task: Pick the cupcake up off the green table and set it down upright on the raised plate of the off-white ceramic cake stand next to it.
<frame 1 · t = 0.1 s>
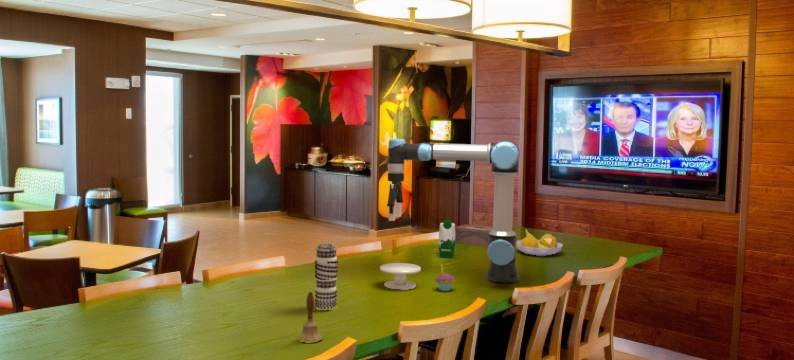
hand: (395, 218, 305), 28 cm above the table, fingers open, 13 cm apart
decorative candle: (325, 308, 257), on the table
fruit bowl: (537, 253, 373), on the table
cake stand: (400, 286, 293), on the table
hand bell: (310, 340, 220), on the table
cupcake: (444, 290, 289), on the table
tissue box cover: (479, 244, 400), on the table
milk carton: (446, 257, 359), on the table
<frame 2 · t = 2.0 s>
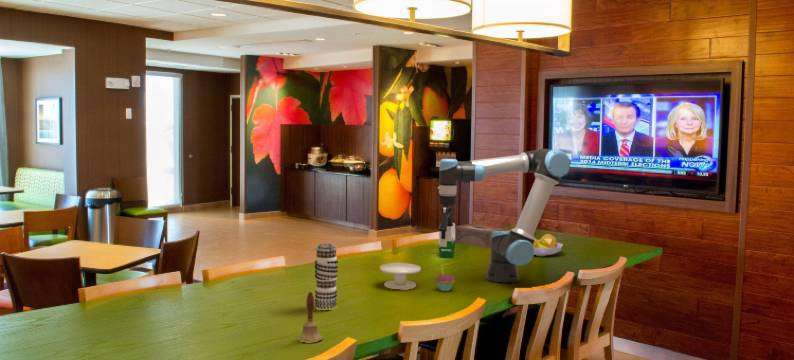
hand: (445, 243, 287), 20 cm above the table, fingers open, 13 cm apart
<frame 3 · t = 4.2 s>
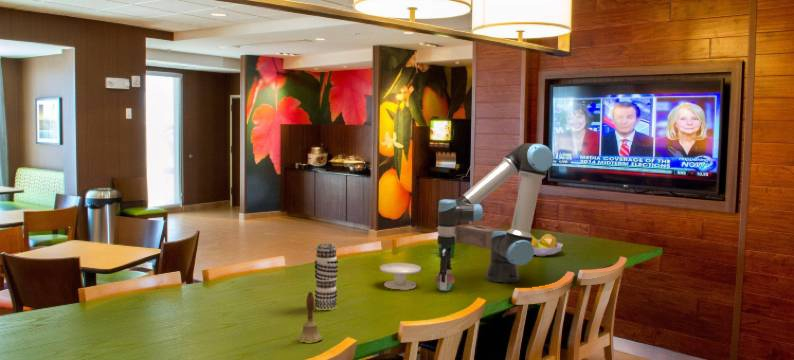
hand: (444, 286, 289), 1 cm above the table, fingers closed on cupcake, 8 cm apart
cupcake: (444, 290, 289), on the table, touching gripper
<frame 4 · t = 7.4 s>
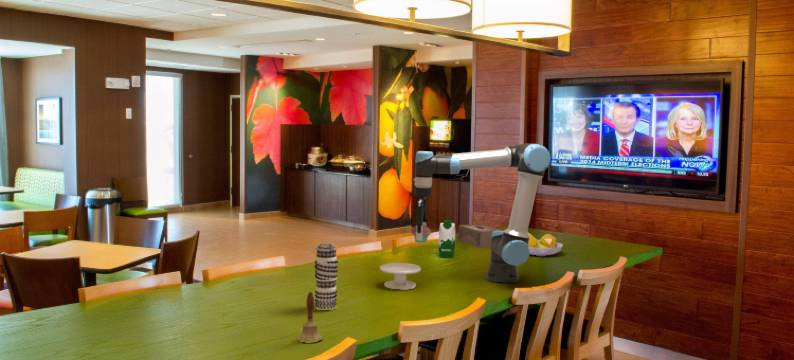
hand: (420, 238, 289), 22 cm above the table, fingers closed on cupcake, 8 cm apart
cupcake: (420, 242, 289), point 20 cm above the table, touching gripper
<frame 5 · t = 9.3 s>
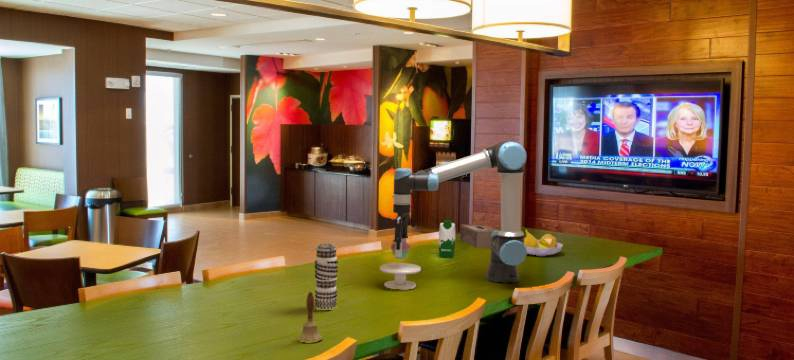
hand: (400, 254, 292), 14 cm above the table, fingers closed on cupcake, 8 cm apart
cupcake: (400, 258, 292), point 13 cm above the table, touching gripper
when the fingers open (12 cm above the table, at t = 10.6 s): cupcake drops 2 cm, resting on cake stand.
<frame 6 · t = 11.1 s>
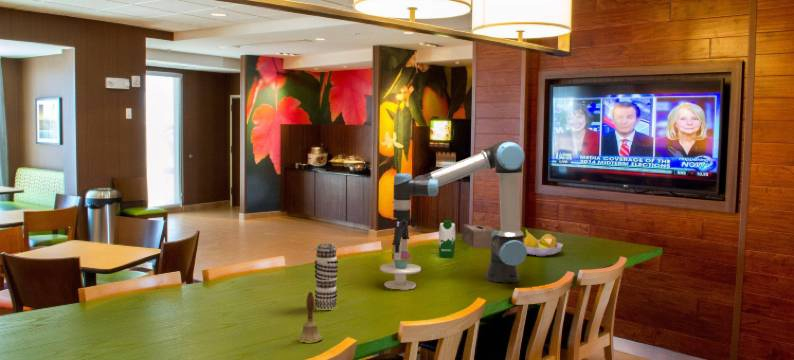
hand: (400, 256, 292), 13 cm above the table, fingers open, 13 cm apart
cupcake: (400, 267, 292), point 8 cm above the table, touching cake stand
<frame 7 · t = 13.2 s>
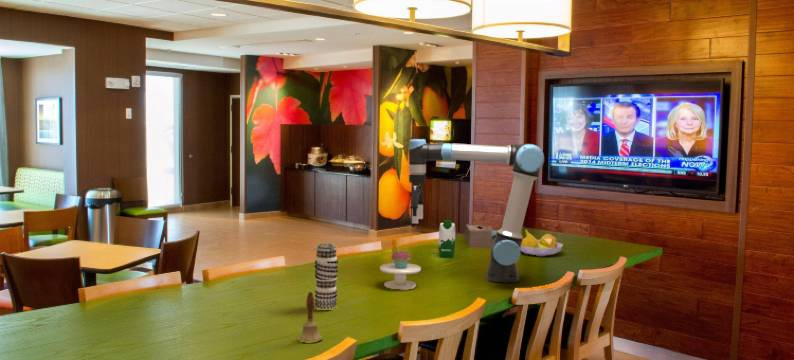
hand: (417, 221, 297), 28 cm above the table, fingers open, 13 cm apart
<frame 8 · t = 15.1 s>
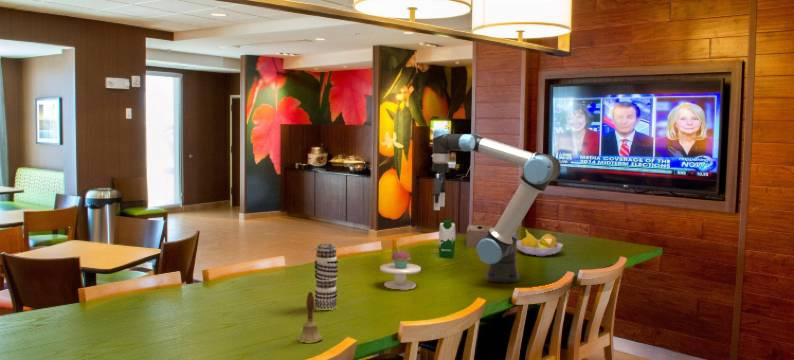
hand: (439, 208, 309), 33 cm above the table, fingers open, 13 cm apart
at the end: cupcake inside the target area on the cake stand (0.1 cm from its centre), point 8.3 cm above the cake stand's base; cupcake tilted 0°; the gripper is holding nothing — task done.
